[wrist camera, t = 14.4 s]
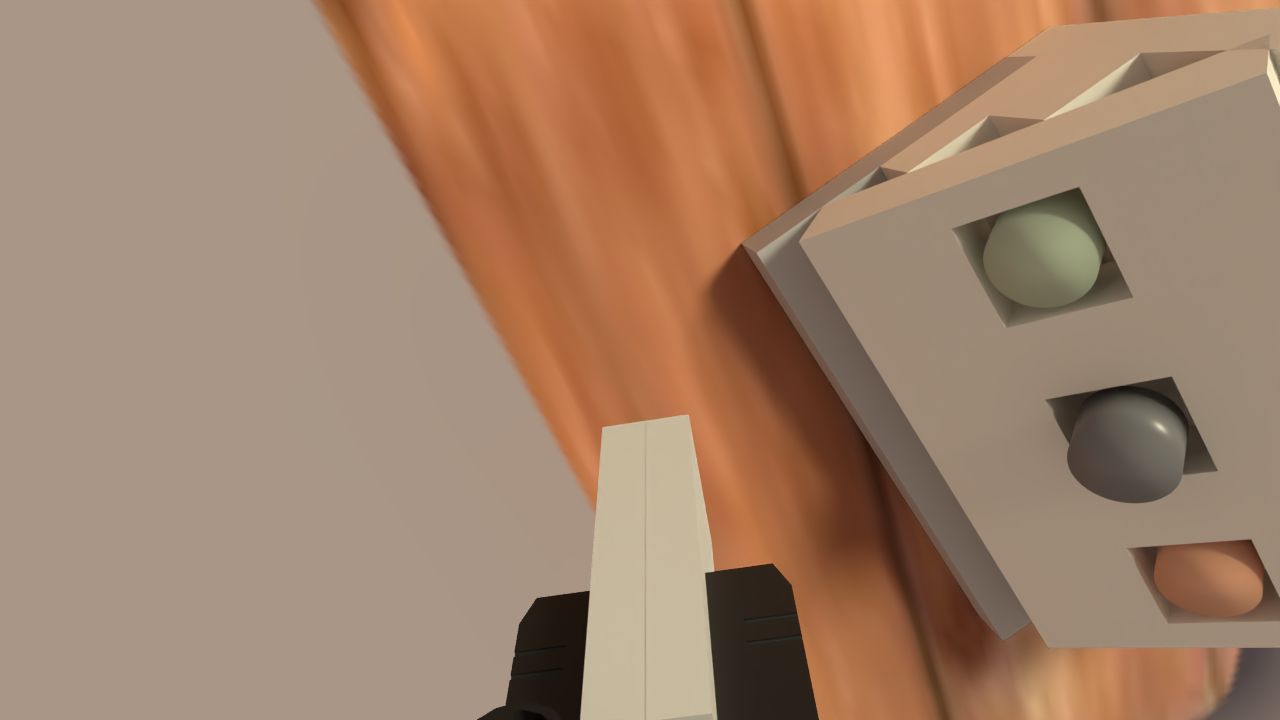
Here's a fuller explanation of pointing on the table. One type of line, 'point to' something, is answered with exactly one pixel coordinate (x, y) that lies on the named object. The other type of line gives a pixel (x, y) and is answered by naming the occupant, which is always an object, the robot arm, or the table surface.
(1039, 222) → the sage button
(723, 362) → the table surface
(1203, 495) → the button console
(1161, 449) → the charcoal button
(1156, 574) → the terracotta button
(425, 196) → the table surface
